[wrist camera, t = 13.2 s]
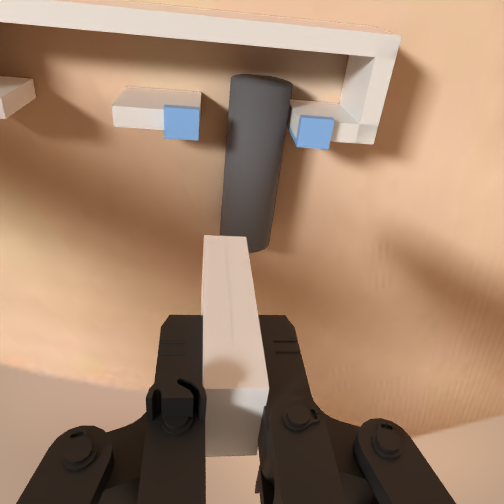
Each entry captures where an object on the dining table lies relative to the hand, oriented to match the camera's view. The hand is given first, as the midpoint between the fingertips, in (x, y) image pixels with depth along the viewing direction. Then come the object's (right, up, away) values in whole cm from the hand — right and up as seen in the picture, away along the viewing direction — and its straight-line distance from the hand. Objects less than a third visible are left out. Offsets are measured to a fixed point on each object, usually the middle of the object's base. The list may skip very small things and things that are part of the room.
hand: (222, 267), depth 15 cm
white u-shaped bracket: (-4, +13, +12) cm, 18 cm away
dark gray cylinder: (0, +8, +16) cm, 18 cm away
